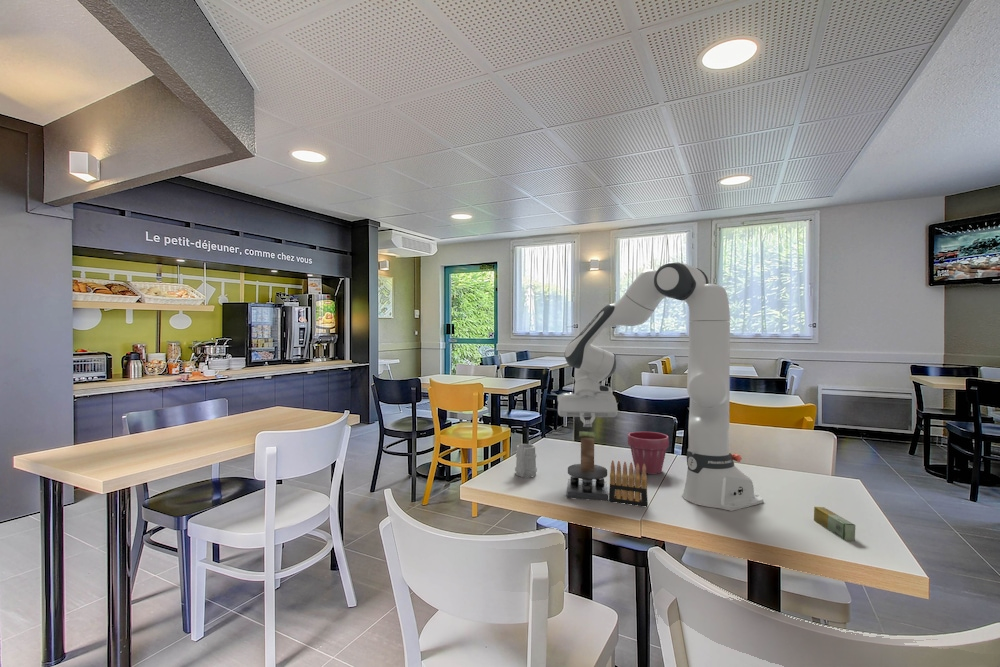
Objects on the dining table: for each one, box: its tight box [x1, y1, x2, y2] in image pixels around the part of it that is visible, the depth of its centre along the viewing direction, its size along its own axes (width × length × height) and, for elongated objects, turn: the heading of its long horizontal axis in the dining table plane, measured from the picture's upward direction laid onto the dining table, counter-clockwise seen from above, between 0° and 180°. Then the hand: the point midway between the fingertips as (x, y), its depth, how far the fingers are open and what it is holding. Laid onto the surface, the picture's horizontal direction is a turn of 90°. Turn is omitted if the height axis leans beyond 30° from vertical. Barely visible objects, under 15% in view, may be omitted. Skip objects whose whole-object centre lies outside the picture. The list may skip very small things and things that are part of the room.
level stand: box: [566, 475, 609, 502], centre depth 140 cm, size 12×12×5 cm
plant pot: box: [627, 431, 670, 475], centre depth 164 cm, size 14×14×13 cm
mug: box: [514, 443, 538, 478], centre depth 156 cm, size 8×12×12 cm, turn 163°
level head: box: [567, 430, 608, 481], centre depth 140 cm, size 12×12×13 cm
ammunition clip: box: [608, 460, 649, 508], centre depth 131 cm, size 11×2×12 cm, turn 68°
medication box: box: [813, 506, 857, 542], centre depth 114 cm, size 12×3×4 cm, turn 176°
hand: (587, 425), depth 152 cm, fingers closed
